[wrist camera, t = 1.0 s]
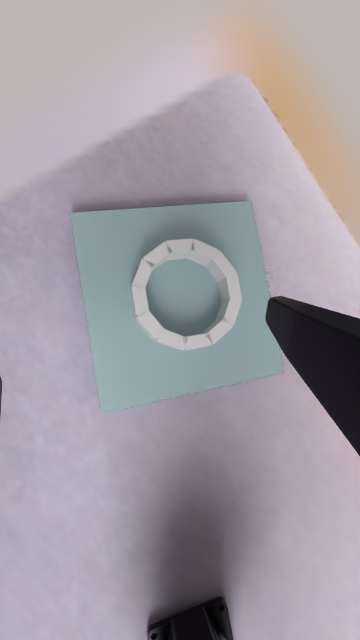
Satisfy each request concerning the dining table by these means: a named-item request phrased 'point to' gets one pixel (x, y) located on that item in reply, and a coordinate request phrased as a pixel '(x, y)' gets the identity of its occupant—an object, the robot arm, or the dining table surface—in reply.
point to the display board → (173, 300)
